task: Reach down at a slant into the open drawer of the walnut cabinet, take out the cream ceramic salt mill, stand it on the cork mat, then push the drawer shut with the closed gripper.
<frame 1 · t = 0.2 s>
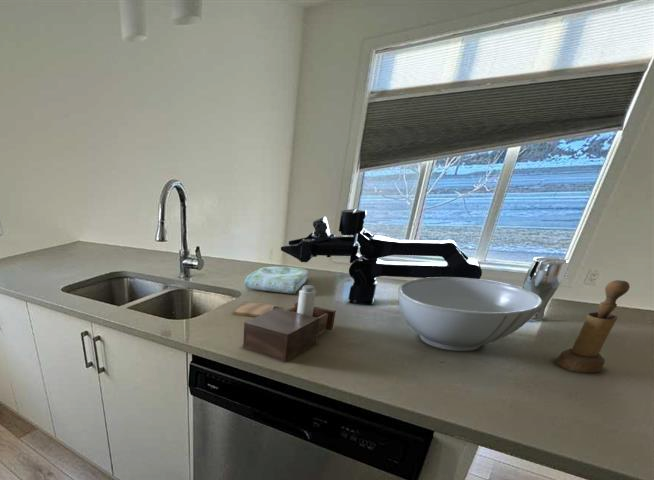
hand: (284, 245, 132), 17 cm above the countertop, tool horizontal, fingers open, 9 cm apart
drawer: (303, 321, 108), point 4 cm above the countertop, slide at 8.0 cm, touching salt mill
decorative bowl: (449, 341, 99), on the countertop
salt mill: (303, 326, 109), point 2 cm above the countertop, touching drawer
cabinet: (279, 345, 104), on the countertop
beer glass: (527, 317, 107), on the countertop
mortar and pestle: (577, 366, 84), on the countertop
cork mat: (255, 310, 128), on the countertop
towel: (276, 286, 149), on the countertop
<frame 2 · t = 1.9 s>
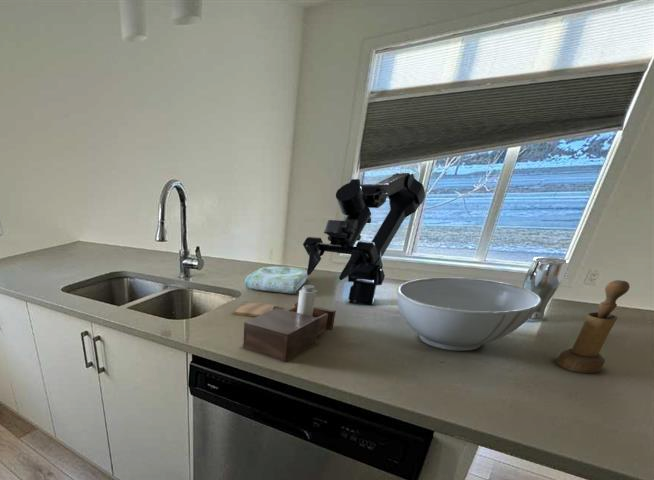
hand: (323, 276, 108), 14 cm above the countertop, tool tilted 45°, fingers open, 9 cm apart
nothing on the countertop moved.
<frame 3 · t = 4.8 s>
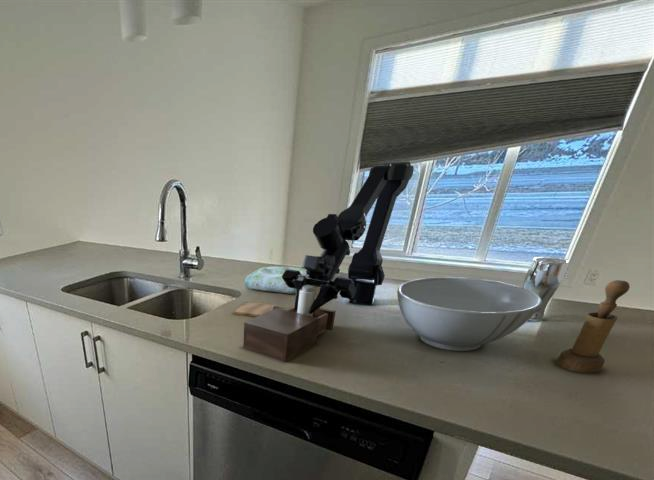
hand: (302, 311, 106), 7 cm above the countertop, tool tilted 45°, fingers closed on salt mill, 4 cm apart
salt mill: (303, 326, 109), point 2 cm above the countertop, touching drawer, gripper
everything else where it was.
when the fingers open (6 cm above the countertop, at t = 12.4 s): salt mill stays where it is, resting on cork mat.
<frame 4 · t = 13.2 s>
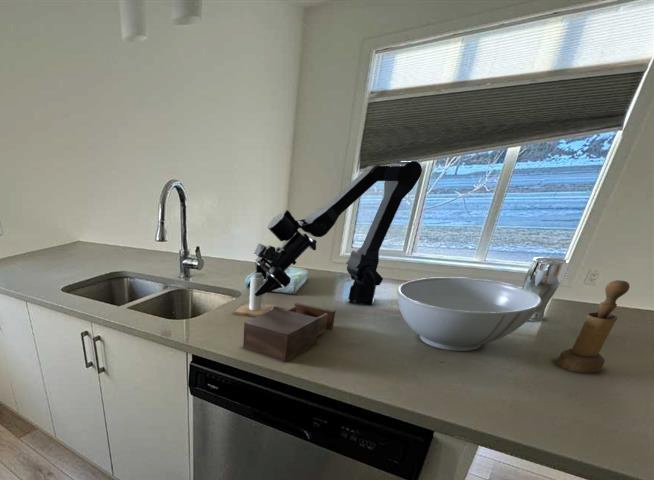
hand: (251, 291, 125), 7 cm above the countertop, tool tilted 45°, fingers open, 9 cm apart
drawer: (303, 321, 108), point 4 cm above the countertop, slide at 8.0 cm
salt mill: (255, 308, 128), point 1 cm above the countertop, touching cork mat
everything else where it was.
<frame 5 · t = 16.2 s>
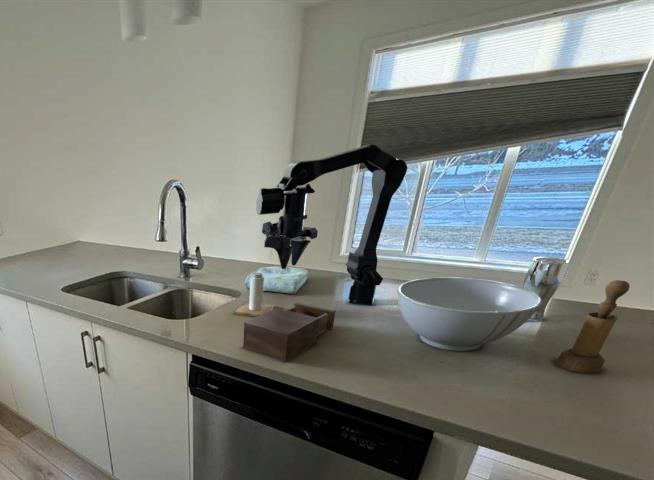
hand: (288, 267, 122), 13 cm above the countertop, tool pointing down, fingers open, 5 cm apart
nothing on the countertop moved.
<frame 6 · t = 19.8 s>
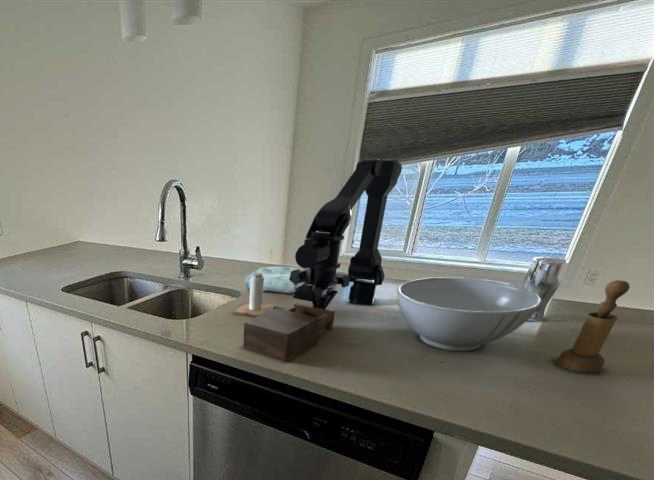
hand: (317, 316, 112), 3 cm above the countertop, tool pointing down, fingers closed
drawer: (302, 322, 108), point 4 cm above the countertop, slide at 7.7 cm, touching gripper
everything else where it was.
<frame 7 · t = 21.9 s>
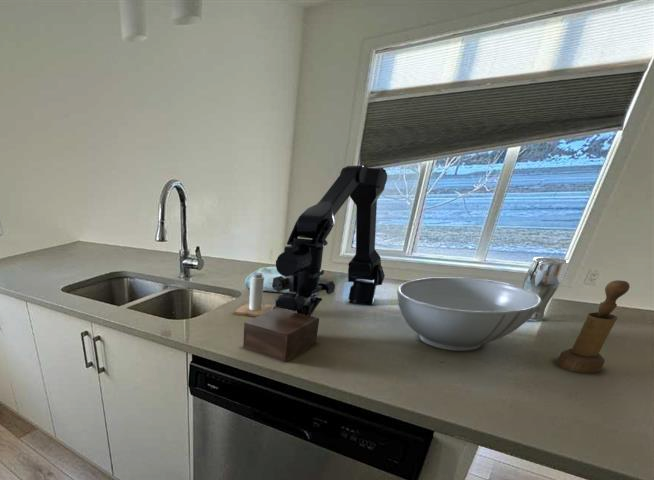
hand: (302, 324, 108), 3 cm above the countertop, tool pointing down, fingers closed
drawer: (285, 330, 104), point 4 cm above the countertop, slide at 0.0 cm, touching cabinet, gripper
everything else where it was.
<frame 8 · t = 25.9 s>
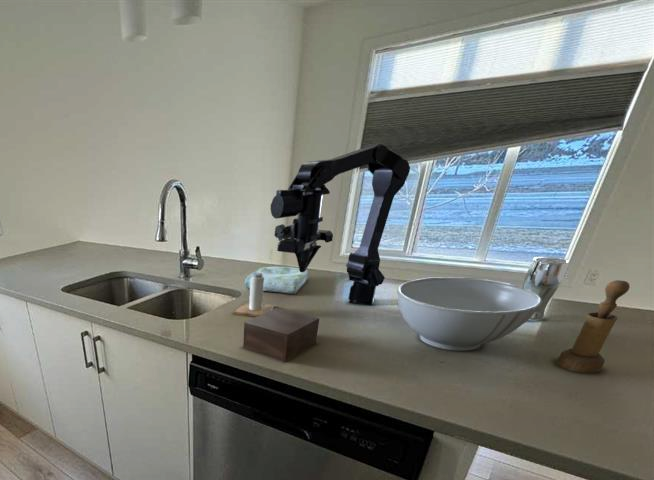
hand: (302, 271, 116), 13 cm above the countertop, tool pointing down, fingers closed
drawer: (285, 330, 104), point 4 cm above the countertop, slide at 0.0 cm
everything else where it was.
at the end: salt mill inside the target area on the cork mat (0.1 cm from its centre), point 0.8 cm above the cork mat's base; salt mill tilted 0°; drawer slide at 0.0 cm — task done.
